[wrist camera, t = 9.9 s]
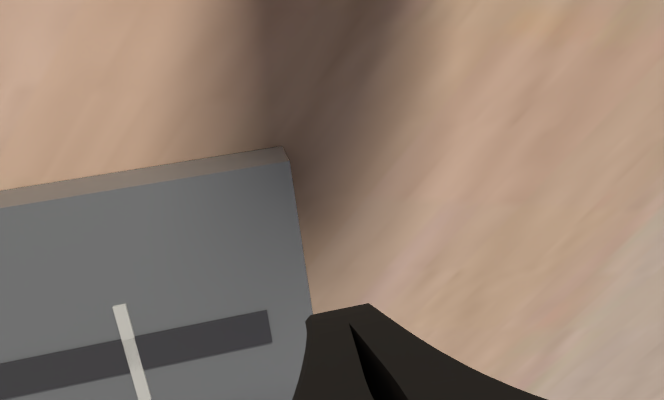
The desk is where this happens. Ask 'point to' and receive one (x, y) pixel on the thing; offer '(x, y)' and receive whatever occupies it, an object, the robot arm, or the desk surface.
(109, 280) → the console
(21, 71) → the desk surface
